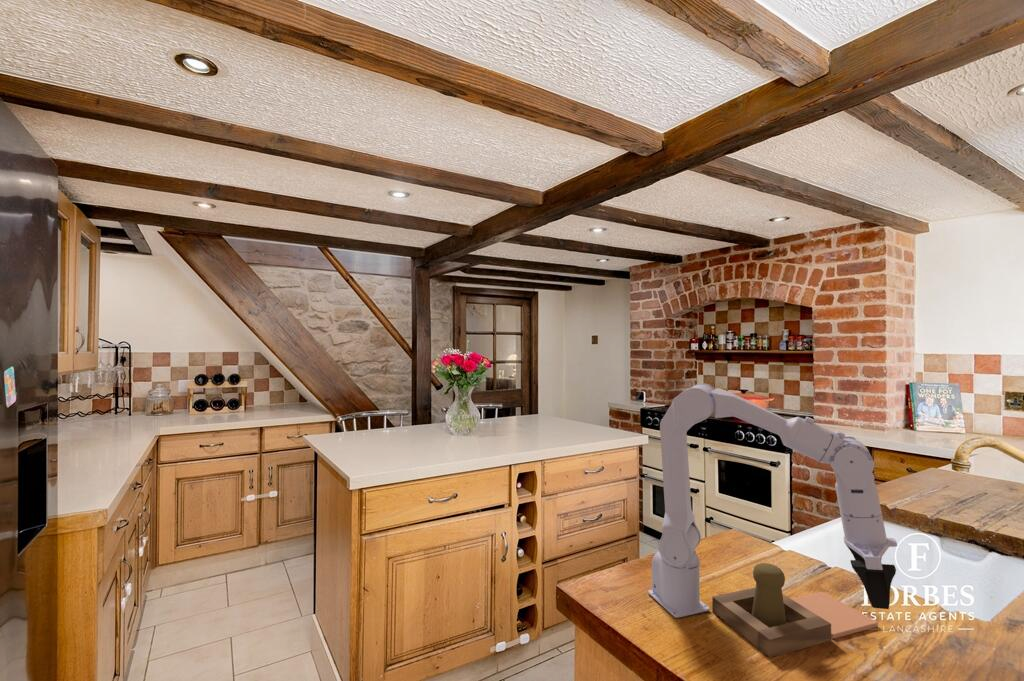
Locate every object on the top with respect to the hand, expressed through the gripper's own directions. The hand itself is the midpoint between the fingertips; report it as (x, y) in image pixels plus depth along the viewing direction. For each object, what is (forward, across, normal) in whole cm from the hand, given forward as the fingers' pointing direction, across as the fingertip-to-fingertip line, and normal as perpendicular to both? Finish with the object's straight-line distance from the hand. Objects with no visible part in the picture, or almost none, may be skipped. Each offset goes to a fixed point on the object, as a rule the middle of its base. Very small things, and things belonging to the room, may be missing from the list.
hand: (876, 595), depth 78 cm
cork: (+8, +2, +17) cm, 19 cm away
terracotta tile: (+9, +10, +8) cm, 16 cm away
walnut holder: (+8, +2, +17) cm, 19 cm away
